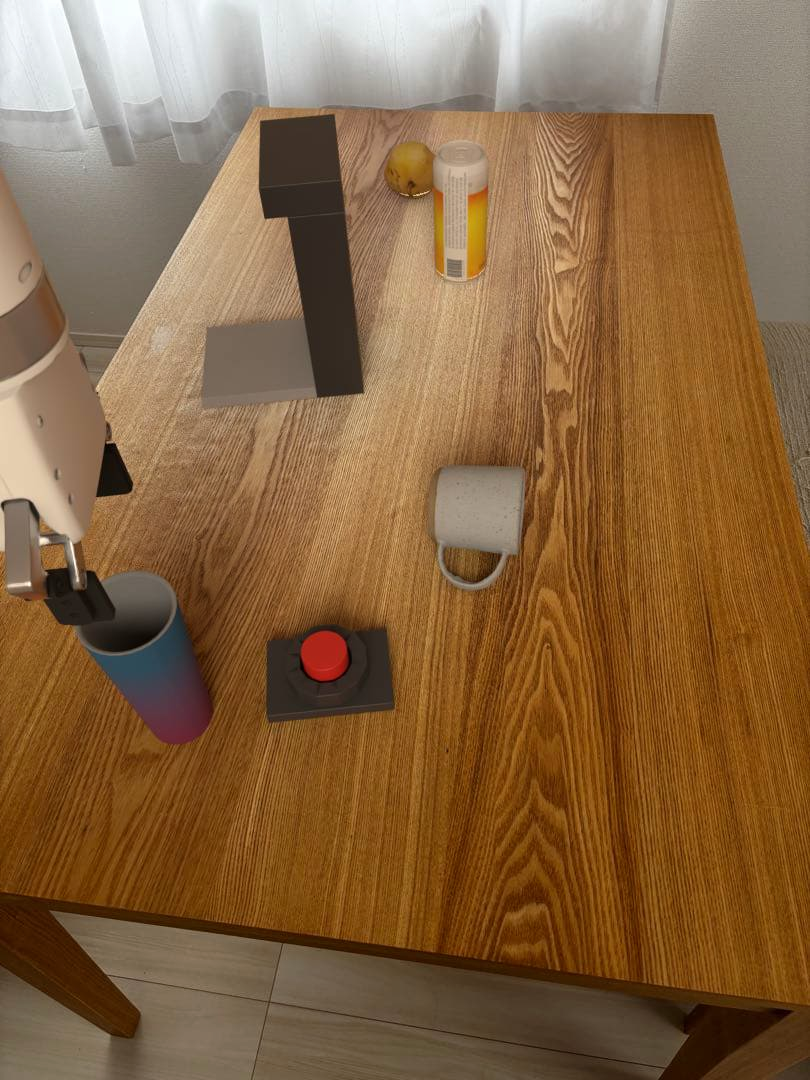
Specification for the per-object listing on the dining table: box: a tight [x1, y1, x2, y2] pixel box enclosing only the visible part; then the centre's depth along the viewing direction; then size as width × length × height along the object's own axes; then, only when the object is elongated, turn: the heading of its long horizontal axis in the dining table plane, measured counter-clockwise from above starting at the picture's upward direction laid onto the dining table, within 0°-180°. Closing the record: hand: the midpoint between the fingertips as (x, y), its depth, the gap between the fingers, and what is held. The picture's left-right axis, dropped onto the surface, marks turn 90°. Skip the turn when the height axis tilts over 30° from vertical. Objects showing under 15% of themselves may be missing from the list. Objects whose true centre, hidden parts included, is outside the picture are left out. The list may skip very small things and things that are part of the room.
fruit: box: [383, 141, 436, 199], centre depth 114 cm, size 7×7×10 cm
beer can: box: [432, 139, 490, 286], centre depth 99 cm, size 6×6×15 cm
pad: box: [265, 623, 395, 724], centre depth 70 cm, size 10×7×3 cm
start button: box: [301, 631, 349, 681], centre depth 68 cm, size 4×4×2 cm
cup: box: [73, 569, 214, 745], centre depth 63 cm, size 7×7×15 cm
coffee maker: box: [200, 113, 365, 410], centre depth 86 cm, size 17×12×24 cm
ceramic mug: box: [427, 464, 526, 591], centre depth 76 cm, size 11×8×8 cm
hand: (99, 551), depth 53 cm, fingers open, 9 cm apart
